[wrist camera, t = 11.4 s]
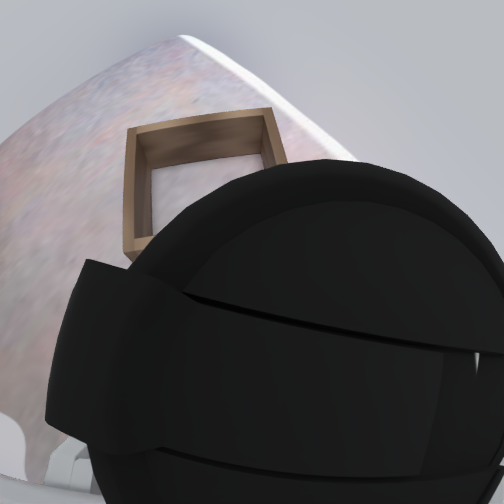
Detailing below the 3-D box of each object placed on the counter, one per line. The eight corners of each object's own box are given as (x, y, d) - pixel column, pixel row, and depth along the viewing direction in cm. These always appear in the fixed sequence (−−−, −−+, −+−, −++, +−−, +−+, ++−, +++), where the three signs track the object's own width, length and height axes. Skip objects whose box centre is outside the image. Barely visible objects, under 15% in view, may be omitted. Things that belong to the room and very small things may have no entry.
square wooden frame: (145, 274, 24) (123, 252, 19) (142, 163, 27) (127, 128, 23) (293, 252, 25) (304, 225, 20) (267, 145, 28) (271, 107, 24)
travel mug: (228, 320, 22) (151, 87, 4) (318, 339, 22) (566, 212, 3) (207, 404, 20) (25, 560, 1) (300, 423, 20) (501, 587, 1)
